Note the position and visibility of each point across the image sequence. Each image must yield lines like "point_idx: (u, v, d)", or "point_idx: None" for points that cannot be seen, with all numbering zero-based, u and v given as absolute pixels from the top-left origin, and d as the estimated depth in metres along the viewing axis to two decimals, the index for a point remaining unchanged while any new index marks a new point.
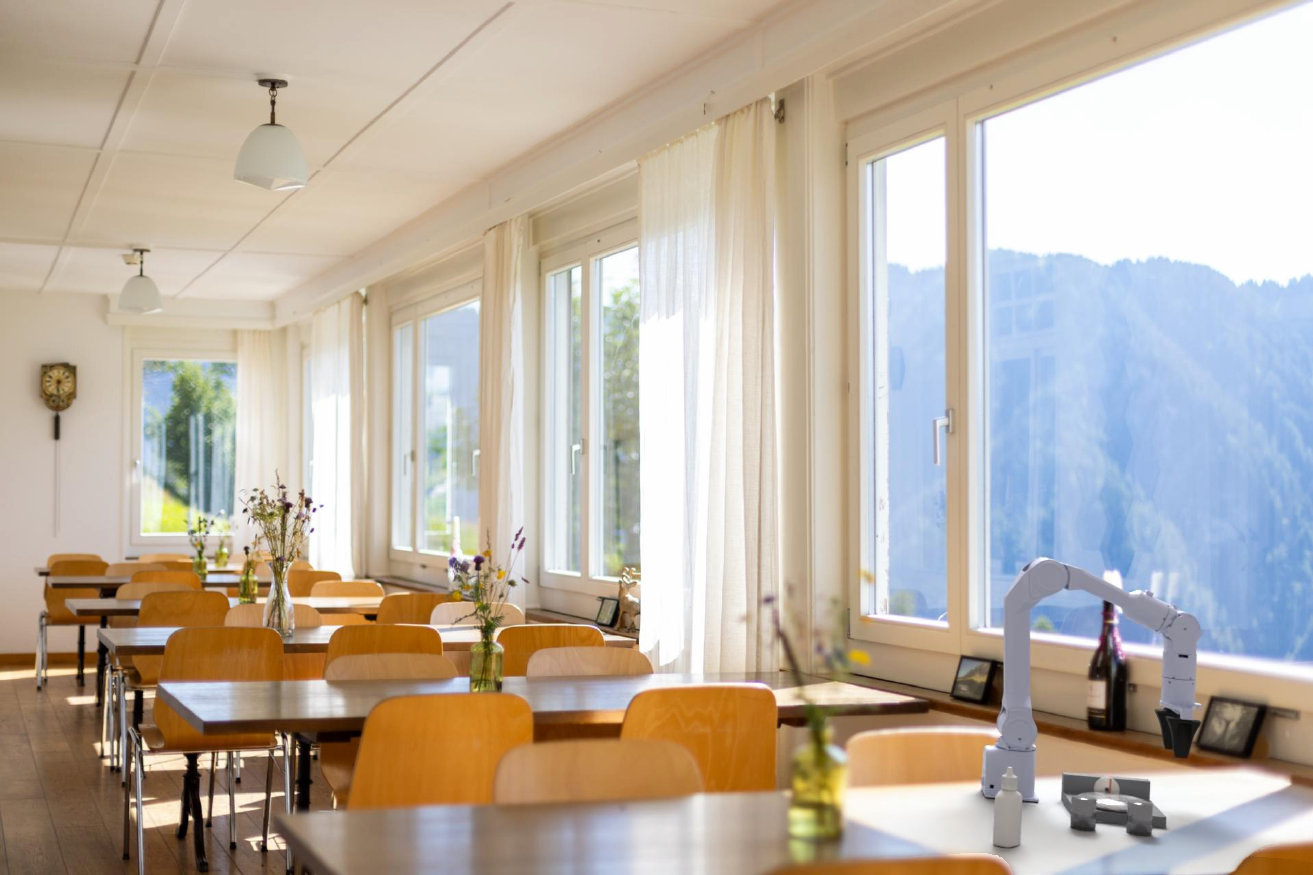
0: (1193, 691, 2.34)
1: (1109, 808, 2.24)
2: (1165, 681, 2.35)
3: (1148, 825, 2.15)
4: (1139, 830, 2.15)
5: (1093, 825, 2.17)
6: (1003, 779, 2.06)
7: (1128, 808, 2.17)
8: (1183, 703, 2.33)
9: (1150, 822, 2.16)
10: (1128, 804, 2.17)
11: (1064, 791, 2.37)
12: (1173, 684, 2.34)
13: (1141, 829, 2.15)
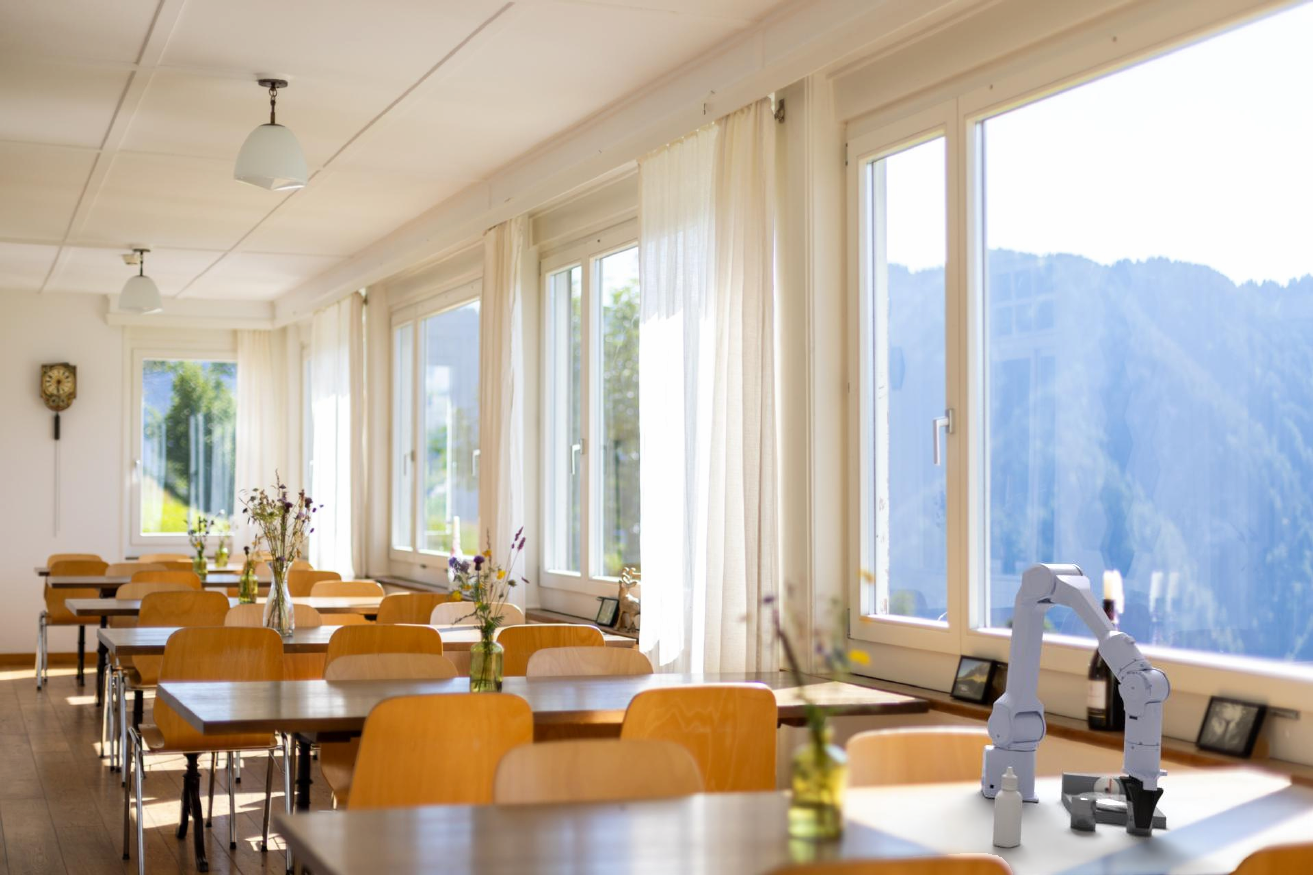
0: (1158, 757, 2.15)
1: (1109, 808, 2.24)
2: (1128, 746, 2.17)
3: None
4: (1139, 830, 2.15)
5: (1093, 825, 2.17)
6: (1003, 779, 2.06)
7: (1128, 808, 2.17)
8: (1147, 771, 2.15)
9: None
10: (1128, 804, 2.17)
11: (1064, 791, 2.37)
12: (1136, 750, 2.15)
13: (1141, 829, 2.15)
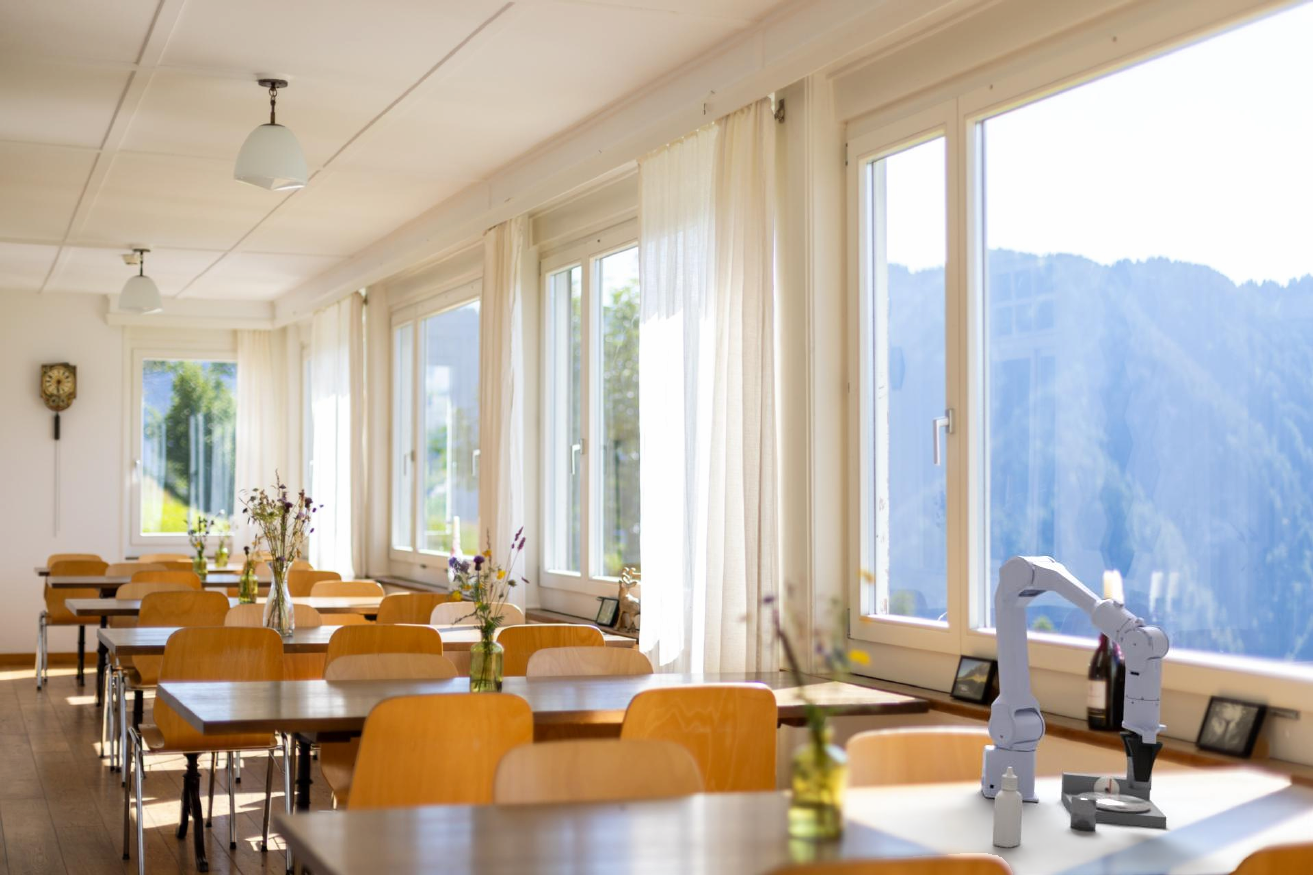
0: (1157, 712, 2.19)
1: (1109, 808, 2.24)
2: (1128, 701, 2.20)
3: None
4: (1138, 785, 2.19)
5: (1093, 825, 2.17)
6: (1003, 779, 2.06)
7: (1128, 763, 2.21)
8: (1146, 725, 2.18)
9: None
10: (1128, 759, 2.21)
11: (1064, 791, 2.37)
12: (1136, 705, 2.19)
13: (1141, 783, 2.19)
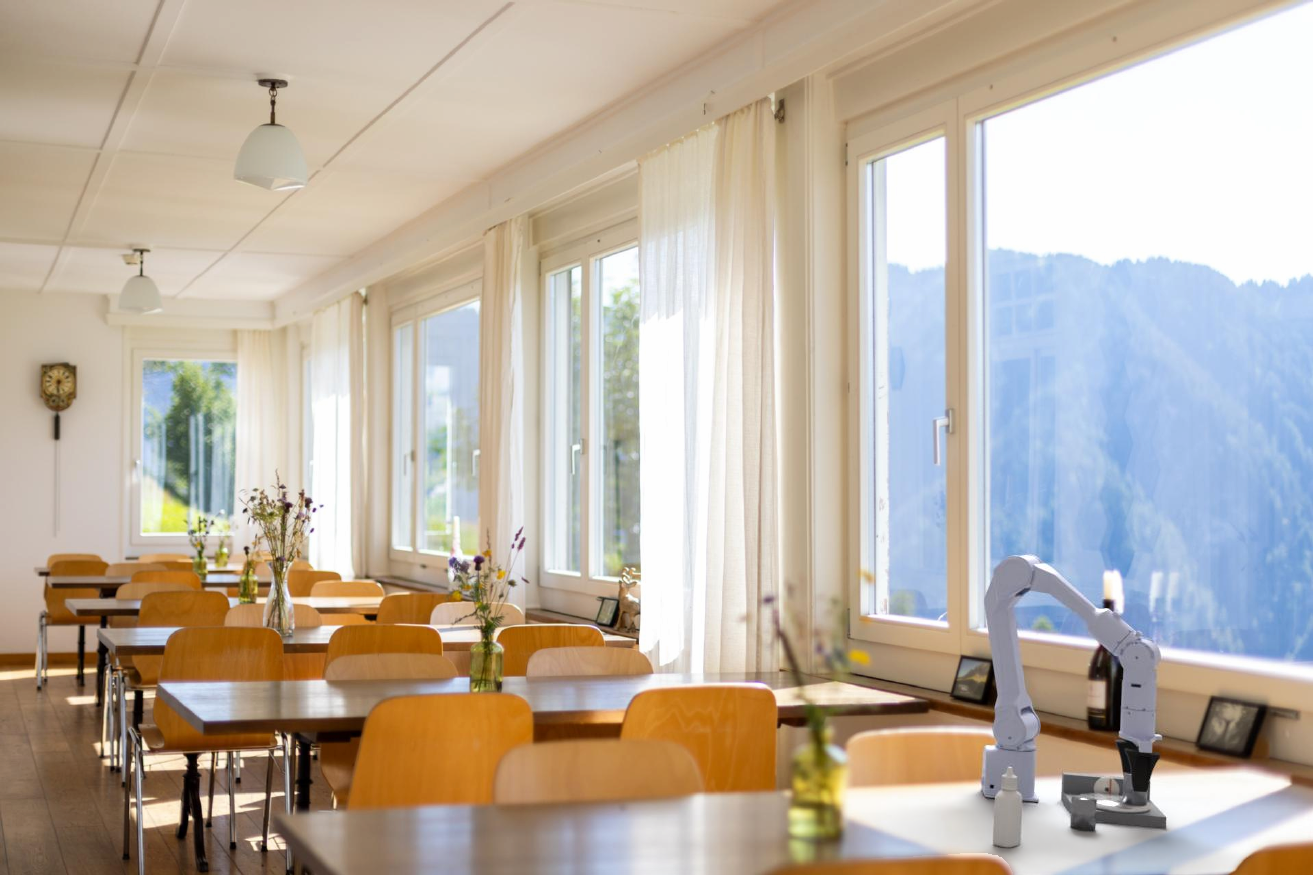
0: (1153, 722, 2.27)
1: (1109, 809, 2.24)
2: (1124, 712, 2.28)
3: (1143, 794, 2.27)
4: (1135, 800, 2.26)
5: (1093, 825, 2.17)
6: (1003, 779, 2.06)
7: (1124, 779, 2.28)
8: (1142, 735, 2.26)
9: (1145, 792, 2.27)
10: (1124, 775, 2.28)
11: (1064, 791, 2.37)
12: (1132, 715, 2.27)
13: (1137, 799, 2.26)
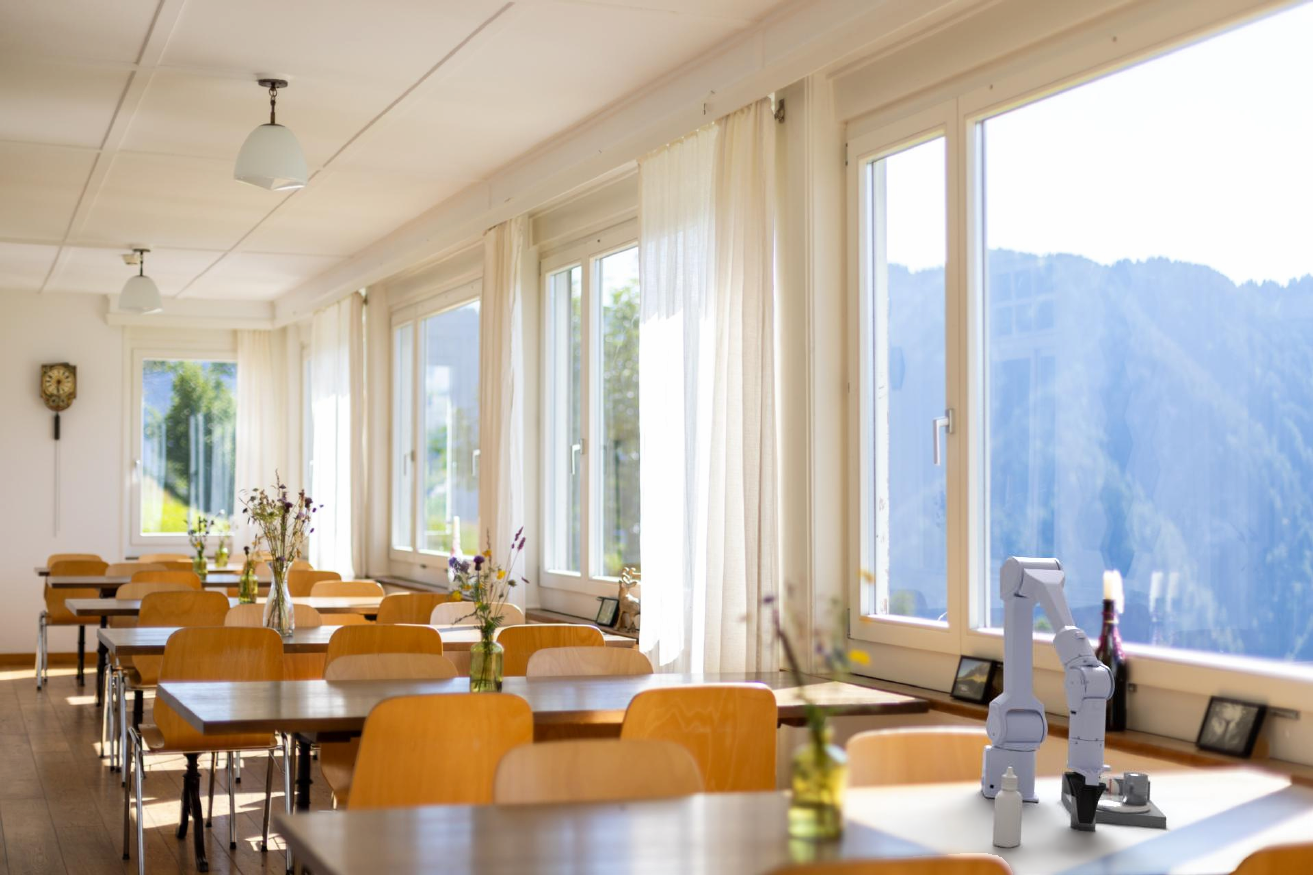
0: (1101, 753, 2.17)
1: (1109, 809, 2.24)
2: (1071, 742, 2.18)
3: (1143, 794, 2.27)
4: (1135, 800, 2.26)
5: (1093, 825, 2.17)
6: (1003, 779, 2.06)
7: (1124, 779, 2.28)
8: (1090, 766, 2.16)
9: (1145, 792, 2.27)
10: (1124, 775, 2.28)
11: (1064, 791, 2.37)
12: (1079, 745, 2.17)
13: (1137, 799, 2.26)
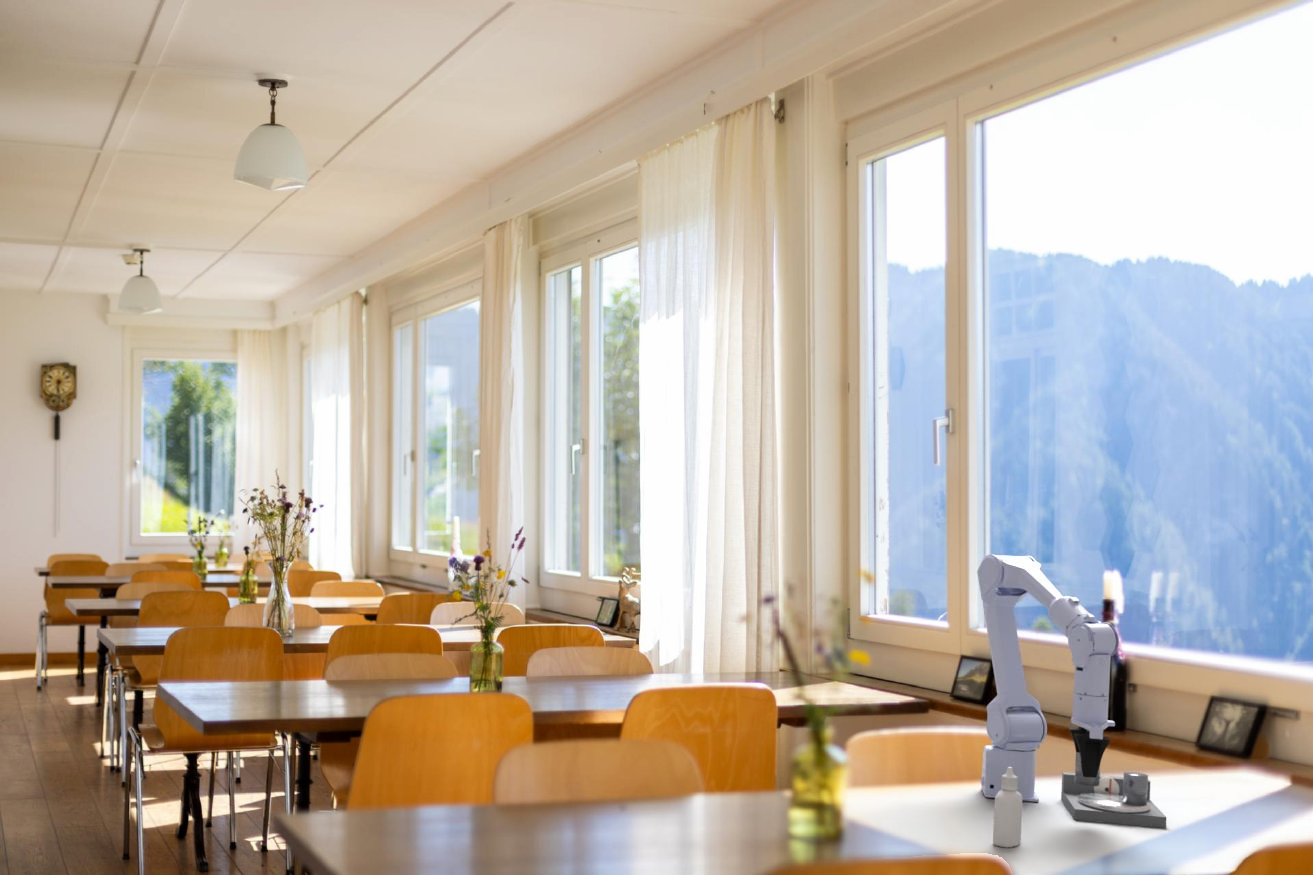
0: (1105, 708, 2.21)
1: (1109, 809, 2.24)
2: (1076, 697, 2.22)
3: (1143, 794, 2.27)
4: (1135, 800, 2.26)
5: (1097, 780, 2.21)
6: (1003, 779, 2.06)
7: (1124, 779, 2.28)
8: (1094, 721, 2.20)
9: (1145, 792, 2.27)
10: (1124, 775, 2.28)
11: (1064, 791, 2.37)
12: (1084, 701, 2.21)
13: (1137, 799, 2.26)
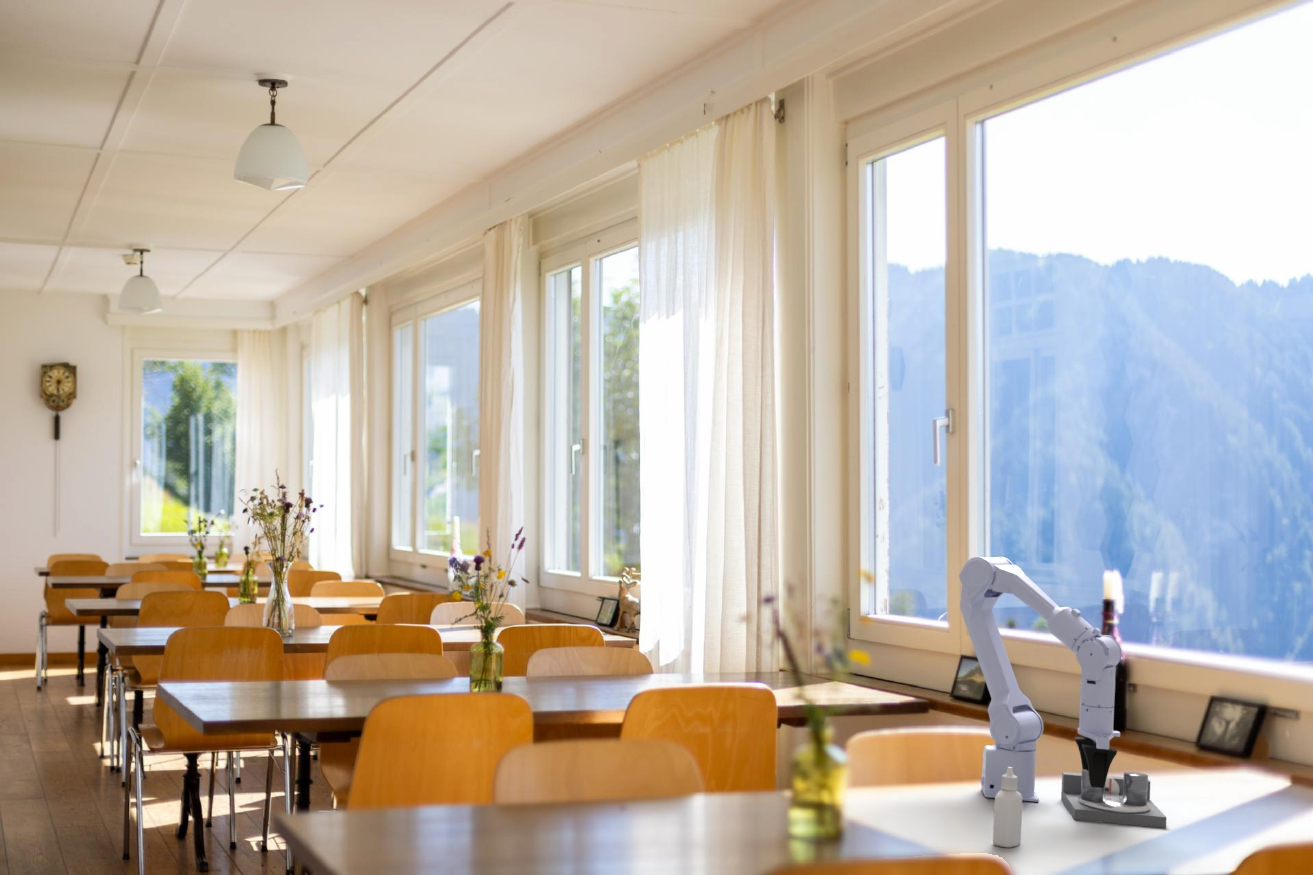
0: (1111, 719, 2.28)
1: (1109, 809, 2.24)
2: (1083, 709, 2.29)
3: (1143, 795, 2.27)
4: (1135, 800, 2.26)
5: (1103, 796, 2.28)
6: (1003, 779, 2.06)
7: (1124, 779, 2.28)
8: (1100, 731, 2.27)
9: (1145, 792, 2.27)
10: (1124, 775, 2.28)
11: (1064, 791, 2.37)
12: (1090, 712, 2.28)
13: (1137, 799, 2.26)
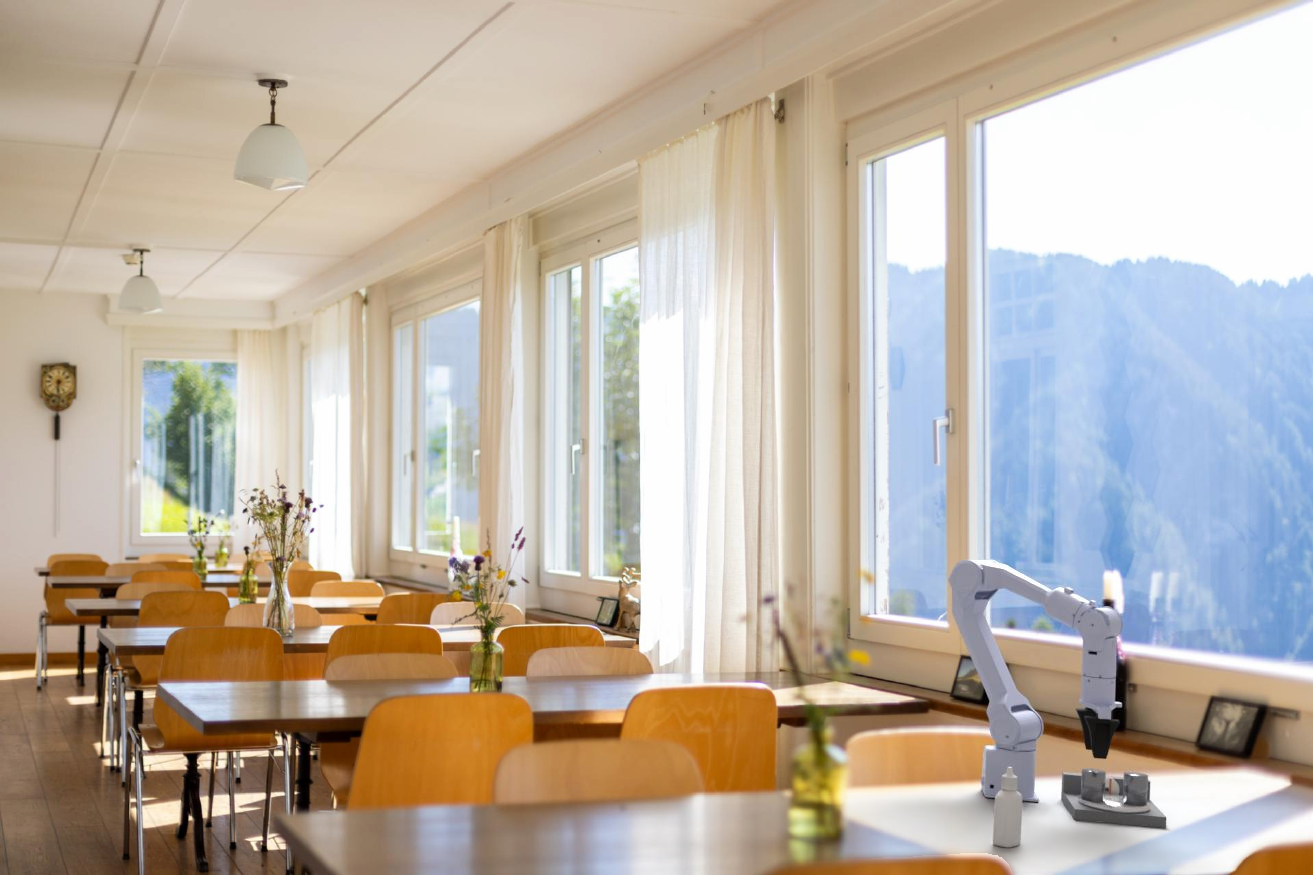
0: (1113, 690, 2.28)
1: (1109, 809, 2.24)
2: (1084, 680, 2.29)
3: (1143, 795, 2.27)
4: (1135, 800, 2.26)
5: (1103, 796, 2.28)
6: (1003, 779, 2.06)
7: (1124, 779, 2.28)
8: (1102, 702, 2.27)
9: (1145, 792, 2.27)
10: (1124, 775, 2.28)
11: (1064, 791, 2.37)
12: (1092, 683, 2.28)
13: (1137, 799, 2.26)
